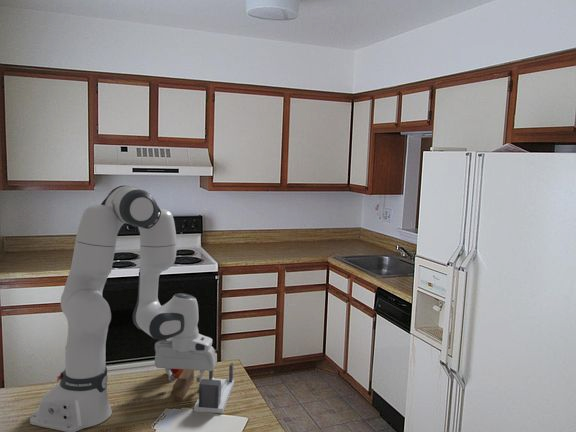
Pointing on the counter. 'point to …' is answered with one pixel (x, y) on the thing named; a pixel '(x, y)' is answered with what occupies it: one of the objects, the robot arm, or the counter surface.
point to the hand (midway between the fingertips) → (185, 380)
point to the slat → (183, 384)
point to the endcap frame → (214, 393)
